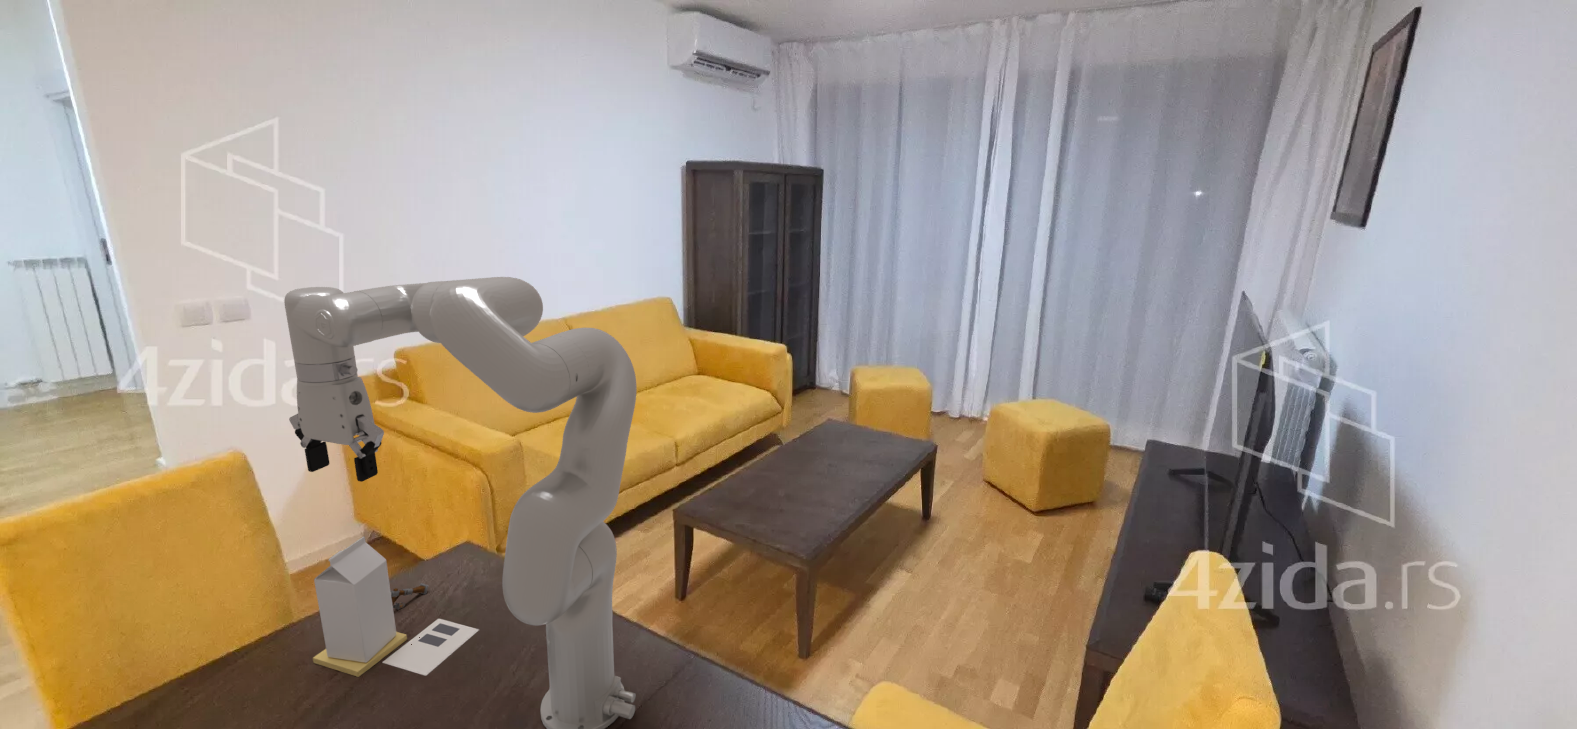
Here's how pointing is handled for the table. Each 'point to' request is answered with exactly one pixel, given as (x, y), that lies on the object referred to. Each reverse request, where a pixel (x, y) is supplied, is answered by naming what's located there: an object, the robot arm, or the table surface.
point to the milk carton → (355, 603)
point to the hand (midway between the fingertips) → (343, 473)
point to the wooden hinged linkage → (395, 592)
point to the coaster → (355, 666)
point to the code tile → (431, 647)
